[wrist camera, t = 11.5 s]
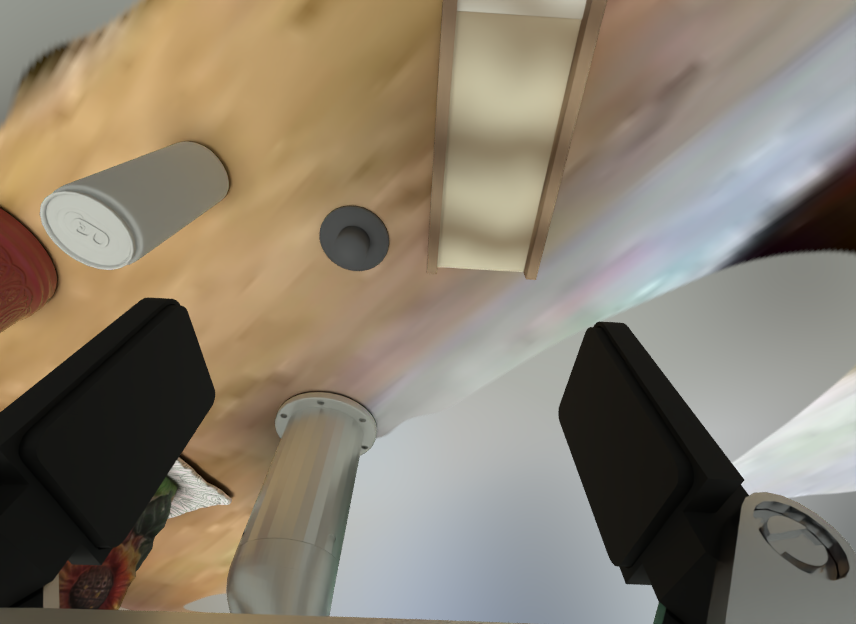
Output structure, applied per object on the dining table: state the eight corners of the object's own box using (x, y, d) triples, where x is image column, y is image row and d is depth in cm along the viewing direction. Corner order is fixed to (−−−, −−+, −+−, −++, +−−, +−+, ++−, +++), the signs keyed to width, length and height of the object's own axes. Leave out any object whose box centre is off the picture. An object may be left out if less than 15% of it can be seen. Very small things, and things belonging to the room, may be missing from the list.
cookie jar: (127, 522, 65) (-81, 840, 39) (-17, 440, 52) (-471, 835, 26) (241, 495, 59) (85, 850, 33) (110, 396, 46) (-313, 851, 20)
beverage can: (184, 125, 28) (48, 167, 18) (243, 170, 30) (148, 231, 20) (160, 173, 30) (27, 234, 20) (216, 213, 32) (119, 287, 22)
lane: (527, 259, 34) (535, 279, 31) (427, 253, 34) (426, 273, 31) (587, 2, 23) (608, -5, 21) (443, -8, 23) (444, -16, 20)
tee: (389, 270, 35) (385, 287, 32) (324, 266, 35) (315, 283, 32) (388, 207, 31) (384, 221, 29) (316, 203, 31) (306, 216, 29)
